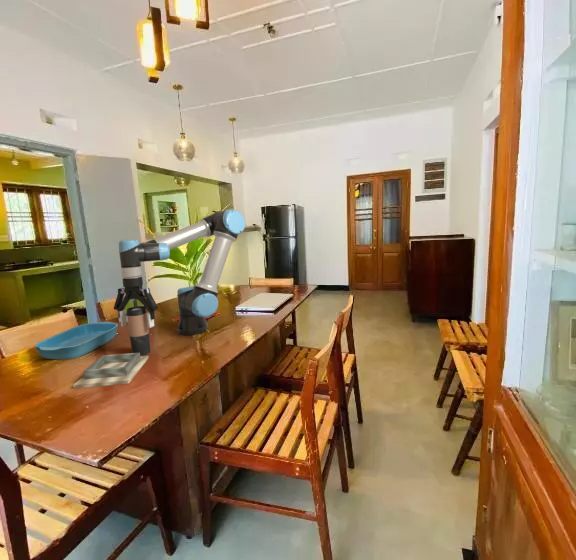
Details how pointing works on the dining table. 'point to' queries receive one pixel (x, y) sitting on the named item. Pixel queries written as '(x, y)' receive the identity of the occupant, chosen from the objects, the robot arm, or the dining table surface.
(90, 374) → the docking board
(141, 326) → the travel mug
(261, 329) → the dining table surface
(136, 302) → the tea box
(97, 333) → the casserole dish
